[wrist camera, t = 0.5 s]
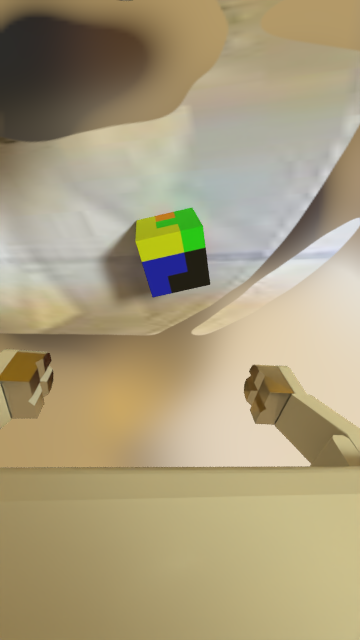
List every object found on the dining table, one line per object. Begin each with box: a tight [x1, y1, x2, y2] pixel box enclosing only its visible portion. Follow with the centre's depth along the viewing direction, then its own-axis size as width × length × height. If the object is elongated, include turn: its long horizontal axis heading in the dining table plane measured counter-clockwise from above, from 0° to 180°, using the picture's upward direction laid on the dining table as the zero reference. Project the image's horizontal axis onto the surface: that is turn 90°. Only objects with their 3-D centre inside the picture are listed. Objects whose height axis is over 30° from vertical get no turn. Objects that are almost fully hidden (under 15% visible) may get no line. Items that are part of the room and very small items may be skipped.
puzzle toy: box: [135, 208, 210, 297], centre depth 43 cm, size 10×10×10 cm
